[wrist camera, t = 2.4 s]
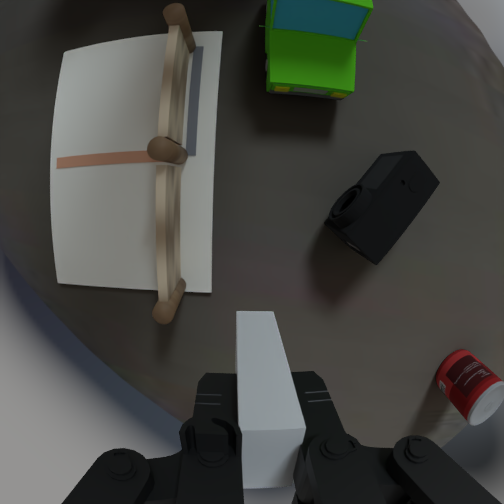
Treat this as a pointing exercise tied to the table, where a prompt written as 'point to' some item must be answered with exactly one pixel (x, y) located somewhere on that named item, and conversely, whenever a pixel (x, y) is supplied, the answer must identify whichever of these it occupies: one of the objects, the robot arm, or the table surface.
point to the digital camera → (382, 204)
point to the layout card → (129, 163)
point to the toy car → (313, 46)
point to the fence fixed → (173, 88)
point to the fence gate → (168, 243)
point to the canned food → (470, 386)
